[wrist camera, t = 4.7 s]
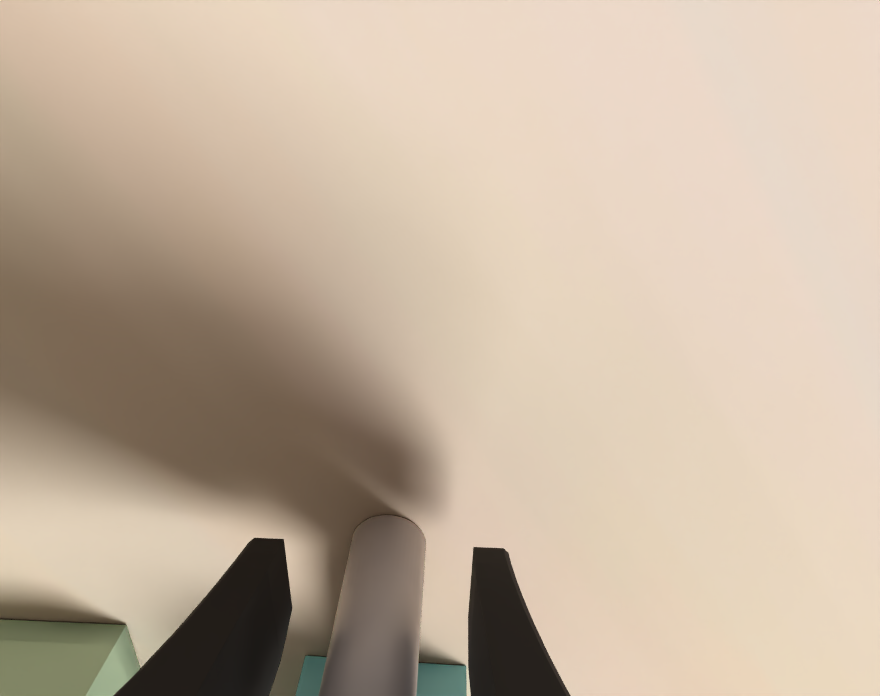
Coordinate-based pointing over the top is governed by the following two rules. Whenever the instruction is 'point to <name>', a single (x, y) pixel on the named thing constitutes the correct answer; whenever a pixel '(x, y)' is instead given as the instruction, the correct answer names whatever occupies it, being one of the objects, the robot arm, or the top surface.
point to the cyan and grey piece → (380, 622)
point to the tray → (64, 658)
